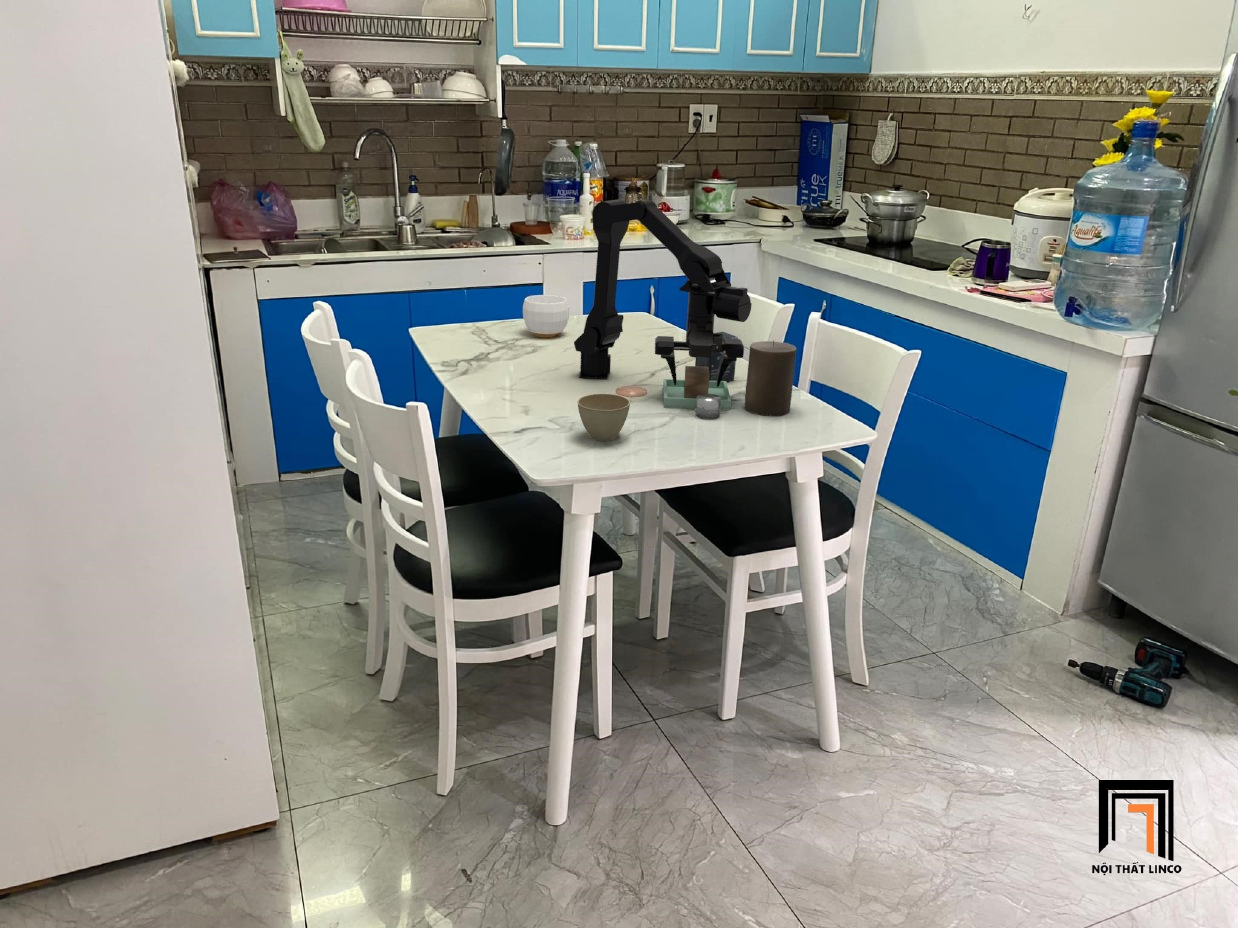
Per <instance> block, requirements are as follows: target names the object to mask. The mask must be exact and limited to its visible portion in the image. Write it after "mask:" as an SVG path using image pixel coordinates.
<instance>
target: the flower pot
mask: <svg viewBox="0 0 1238 928" xmlns="http://www.w3.org/2000/svg"><path fill="white" fill-rule="evenodd" d="M576 403H577V409H578V413H579V416H580V420H581V422H582V425H583V426H584V429H585V431H586V432H587V434H588V436H589V437H590V439H592V440H595V441H600V442H601V441H602V442H606V441H612V440H615V439H616V438H617V437H618V435H619V434H620V432H621V431H622V429H623V427H624V425H625V423H626V421H627V419H628V415H629V411H630V406H631V401H630V399H629V398H628V397H625V396H621V395H618V394H614V393H603V392H602V393H599V392H598V393H590V394H587V395H586V394H585V395H583V396H581V397H579V398H578V399H577V402H576Z"/></svg>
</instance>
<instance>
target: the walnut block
mask: <svg viewBox="0 0 1238 928" xmlns="http://www.w3.org/2000/svg"><path fill="white" fill-rule="evenodd" d="M684 367H685V368H684V369H685V370H684V380H685V381H684V398H696V399H697V396H698V395H700V394H708V389H709V375H710V373H709V367H702V366H695V365H685V366H684Z"/></svg>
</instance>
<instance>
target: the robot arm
mask: <svg viewBox="0 0 1238 928" xmlns="http://www.w3.org/2000/svg"><path fill="white" fill-rule="evenodd" d="M591 212H592V213H591V216H592V219H591V221H592V230H593V232H594V235H595V237H596V240H597V254H596V255H597V256H596V267H595V269H596V270H595V281H594V282H595V283H594V294H593V306H592V308H591V309H590V311H589V313H588V315H587V316H586V319H585V323H584V329H583V332H582V333H581V334H580V335H579V336H578V337H577V339H575V340H574V342H573V344H574V350H575V351H576V352H580V368H579V369H580V370H579V372H580V373H579V378H580V379H581V378H582V379H600V380H601V379H605V380H606V379H608V378H609V375H610V374H611V363H612V362H611V361H612V360H611V358H612V357H611V356H612V355H611V354H609V349H610V348H614V346H615V343H616V341H617V340H618V339H619V338H620V336H621V333H624V329H623V321H624V315H623V314H619V312H618V310H617V308H616V302H617V301H616V300H617V299H616V298H617V287H618V285H617V284H618V276H619V275H618V274H619V266H620V265H619V262H620V254H621V244H622V241H623V239H624V237H625V236H626V233H627V232H628V229H629V227H630V226H629V225H630V221H638V222H639V223H640V224H641V225H642V226H643V227H644V228H645V229H647V230H648V232H650V233H651V234H652V235H653V236H654V238H656V239H657V240H658V241H659V242H660V243H661V244H662V245H663V246H664V247H665V248H666V249H667V250H668V251H669V252H670V253H671V254H672V255H673V256H674V257H675V259H676V261H677V264H678V266H679V269H680V271H682V273H683V274H684V275H685V277H686V278H687V280H686V282H685V283H684V284H683V285H681V286H680V287H679V289H678V290H679V291H680V292H685V293H688V299H687V301H688V302H687V316H686V333H685V341H679V340H677V341H676V340H675V338H674V336H667V335H666V336H665V335H664V336H663V335H657V336H656V338H655V340H654V355H657V356H660V358H661V359H663V360H666V363H667V365H668V367H669V370H670V373H671V377H672V378H671V379H673V382H674V385H676V379H677V367H676V359H675V357H676V356H675V351H687V352H688V356H689V357H691V358H696V357H705V358H710V357H712V352H721V357H720V363H719V369H718V375H717V387H719V385H720V382H721V380H722V378H723V375H724V373H725V371H726V369H727V367H728V366H729V364H730V363H731V362H732V361H736V362H737V360H738V359H743V358H744V354H745V353H744V351H745V346H744V343H743V341H742V340H741V339H740V338H738V339H724V343H722V339H723V335H722V334H715V333H716V332H714V326H715V316H716V318H718V319H723V320H728V321H734V322H739V323H745V322H746V321H748V319H749V317H750V313H751V311H752V302H751V300H752V299H751V297H750V295H749V294H748V293H749V292H748V291H749V290H748V288H747V287H735V286H732V283H731V281H730V279H729V277H728V276H727V273H726V272H725V270H724V269H723V268H724V267H723V261H722V259H721V257H720V256H719V255H717V254H716V253H715V252H714V251H712V250H711V249H709V248H708V247H706V246H704V245H701V244H698V243H697V242H695V241H694V240H692V239H691V238H690V237H689V236H687V234H686V233H684V232H683V231H682V229H681V228H679V227H678V225H676V223H674V222H673V221H672V220H671V219H670V218H669V217H668V216H667V215H666V214H665V213H664V212H663V211H662V210H661V209H660V208H659V207H658V206H657V204H656V203H655V201H652V200H650V199H643V200H637V201H635V202H630V203H629V202H628V203H626V202H625V201H624V200H622V199H614V200H613V199H612V200H606V201H604V200H603V201H600V202H598V203H597V204H596V205H595V206H593V209H592V211H591ZM711 281H712V282H711Z"/></svg>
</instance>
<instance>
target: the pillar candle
mask: <svg viewBox="0 0 1238 928" xmlns="http://www.w3.org/2000/svg"><path fill="white" fill-rule="evenodd" d="M748 354H749V355H748V364H747V365H748V366H747V374H746V377H747V378H746V384H745V395H744V409H745V410H746V411H749V412H751V413H752V414H756V415H760V416H775V417H779V416H784V415H787V414H789V413H790V412H791V406H792V405H791V403H792V394H793V386H794V377H795V367H796V366H795V365H796V357H797V347H796V346H795V345H794V344H790V343H788V342H783V341H775V340H774V339H773V340H772V341H769V340H767V341H766V340H765V341H764V340H763V341H762V340H761V341H755V342H751V343H750V345H749V353H748Z"/></svg>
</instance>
